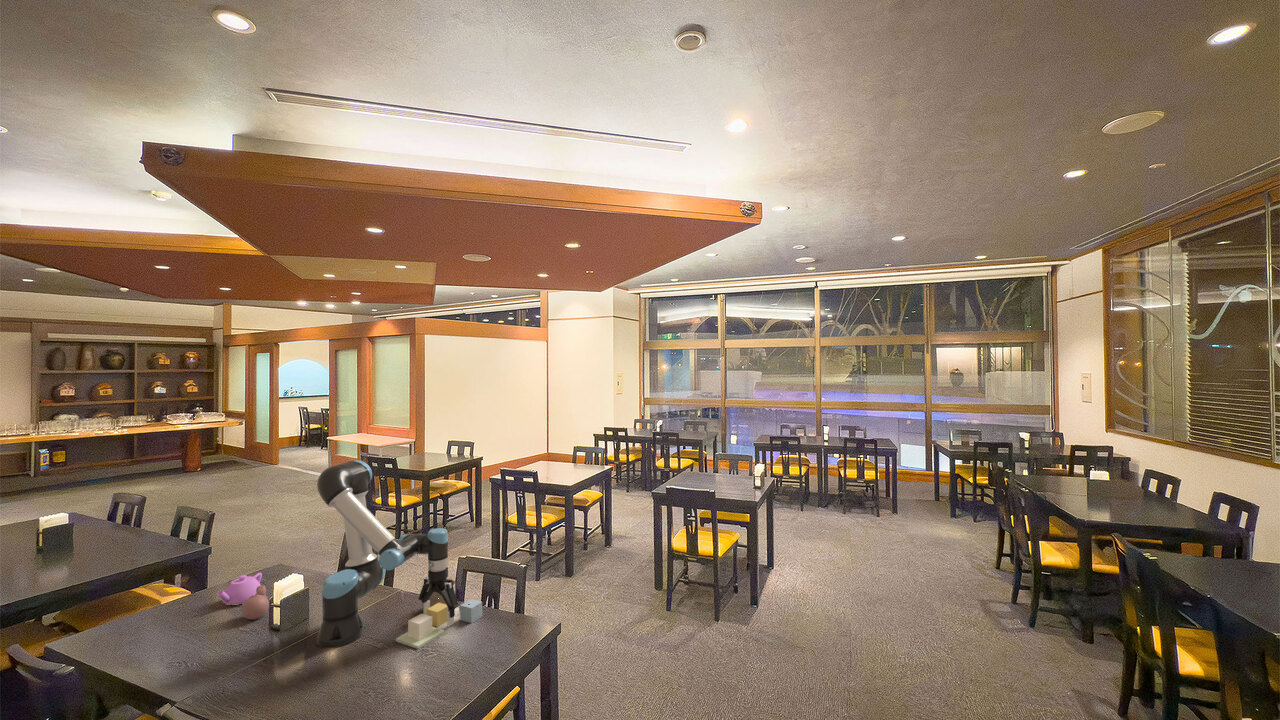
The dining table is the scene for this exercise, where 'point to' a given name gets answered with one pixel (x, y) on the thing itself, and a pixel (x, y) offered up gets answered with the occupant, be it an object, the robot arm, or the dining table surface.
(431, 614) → the ochre brick
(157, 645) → the dining table surface
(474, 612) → the blue brick
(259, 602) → the figurine
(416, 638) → the baseplate
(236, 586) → the teapot
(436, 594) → the planter
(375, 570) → the robot arm
